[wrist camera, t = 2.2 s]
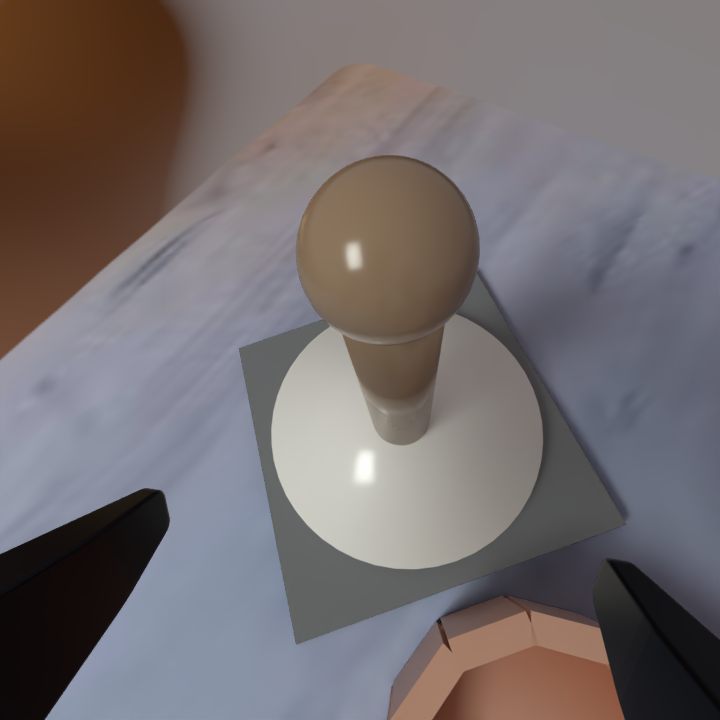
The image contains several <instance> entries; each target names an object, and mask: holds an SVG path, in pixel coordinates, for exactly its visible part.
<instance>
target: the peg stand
mask: <svg viewBox="0 0 720 720" xmlns="http://www.w3.org/2000/svg"><path fill="white" fill-rule="evenodd" d="M479 257H480V243H479V233H478V228H477V224H476V220H475V217H474V214H473V211H472V209H471V207H470V205H469V204H468V202H467V200H466V198H465V196H464V195H463V193H462V192H461V191H460V190H459V188H458V187H457V186H456V185H455V184H454V182H453V181H452V180H450V179H449V178H448V177H447V176H446V175H445V174H443V173H442V172H440V171H439V170H438V169H436V168H435V167H433V166H431V165H429V164H427V163H425V162H422V161H420V160H417V159H413V158H410V157H405V156H398V155H382V156H374V157H369V158H365V159H362V160H359V161H356V162H354V163H352V164H350V165H348V166H346V167H344V168H343V169H341V170H340V171H338V172H337V173H335V174H334V175H333V176H331V177H330V178H329V179H328V180H327V181H326V182H325V183H324V184H323V185H322V186H321V187H320V188H319V190H318V191H317V192H316V193H315V195H314V196H313V197H312V199H311V201H310V202H309V204H308V206H307V208H306V210H305V212H304V214H303V217H302V220H301V223H300V227H299V230H298V234H297V242H296V263H297V270H298V275H299V279H300V282H301V285H302V288H303V290H304V292H305V295H306V296H307V298H308V300H309V302H310V303H311V305H312V307H313V308H314V310H315V311H316V312H317V313H318V314H319V315H320V317H321V318H322V319H323V320H324V321H325V322H326V323H327V324H329V325H330V327H329V328H328V329H326V330H325V331H323V332H322V333H320V334H319V335H318V336H317V337H316V338H315V339H314V340H313V341H311V342H310V343H309V344H308V345H307V346H306V348H305V349H304V350H303V351H302V352H301V353H300V354H299V356H298V357H297V358H296V360H295V361H294V363H293V364H292V366H291V367H290V369H289V371H288V373H287V374H286V376H285V378H284V380H283V382H282V385H281V387H280V390H279V393H278V395H277V399H276V403H275V407H274V411H273V418H272V427H271V437H272V451H273V458H274V463H275V467H276V470H277V474H278V478H279V480H280V482H281V485H282V487H283V489H284V492H285V494H286V496H287V497H288V499H289V501H290V502H291V504H292V506H293V507H294V509H295V511H296V512H297V513H298V514H299V516H300V517H301V518H302V519H303V521H304V522H305V523H306V524H307V525H308V526H309V527H310V528H311V529H312V530H313V531H314V532H315V533H316V534H317V535H318V536H319V537H320V538H322V539H323V540H324V541H326V542H327V543H329V544H330V545H332V546H333V547H335V548H336V549H337V550H339V551H341V552H343V553H345V554H347V555H349V556H351V557H353V558H355V559H358V560H361V561H364V562H367V563H370V564H373V565H377V566H383V567H388V568H394V569H422V568H431V567H437V566H441V565H445V564H448V563H452V562H455V561H458V560H460V559H462V558H465V557H467V556H469V555H471V554H474V553H476V552H477V551H479V550H480V549H482V548H483V547H485V546H486V545H488V544H489V543H491V542H492V541H494V540H495V539H496V538H497V537H498V536H499V535H500V534H501V533H503V532H504V531H505V530H506V529H507V528H508V527H509V526H510V524H511V523H512V522H513V521H514V519H515V518H516V517H517V516H518V515H519V513H520V512H521V510H522V509H523V507H524V505H525V503H526V502H527V500H528V498H529V497H530V495H531V492H532V490H533V487H534V485H535V482H536V480H537V477H538V472H539V468H540V464H541V460H542V449H543V429H542V419H541V414H540V409H539V405H538V402H537V399H536V396H535V393H534V390H533V388H532V386H531V384H530V382H529V380H528V378H527V375H526V373H525V372H524V370H523V369H522V367H521V366H520V364H519V363H518V361H517V360H516V359H515V357H514V356H513V355H512V354H511V353H510V352H509V350H508V349H507V348H506V347H505V346H504V345H503V344H502V343H501V342H500V341H499V340H497V339H496V338H495V337H494V336H493V335H492V334H490V333H489V332H487V331H486V330H485V329H483V328H482V327H480V326H479V325H477V324H475V323H473V322H472V321H470V320H468V319H466V318H464V317H462V316H459V315H457V314H456V312H457V311H458V310H459V309H460V307H461V306H462V304H463V303H464V301H465V300H466V298H467V296H468V294H469V293H470V291H471V288H472V285H473V283H474V280H475V277H476V274H477V269H478V264H479Z"/></svg>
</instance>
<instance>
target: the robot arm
mask: <svg viewBox="0 0 720 720" xmlns="http://www.w3.org/2000/svg"><path fill="white" fill-rule="evenodd" d="M169 523H170V517H169V512H168V508H167V503H166V498H165V495H164V493H163V492H162V491H160V490H156V489H149V488H144V489H141V490H139V491H137V492H134V493H132V494H130V495H128V496H126V497H123V498H121V499H119V500H117V501H115V502H113V503H110V504H108V505H106V506H104V507H102V508H100V509H97V510H95V511H93V512H91V513H89V514H87V515H84V516H82V517H80V518H78V519H76V520H74V521H71V522H69V523H67V524H65V525H63V526H61V527H58V528H56V529H54V530H52V531H50V532H48V533H45V534H43V535H41V536H39V537H37V538H34V539H32V540H30V541H28V542H26V543H24V544H21V545H19V546H17V547H15V548H13V549H11V550H8V551H6V552H4V553H2V554H0V720H45V719H46V717H47V716H48V714H49V713H50V711H51V710H52V708H53V707H54V705H55V704H56V703H57V701H58V700H59V698H60V697H61V695H62V694H63V692H64V691H65V690H66V688H67V687H68V685H69V684H70V682H71V681H72V679H73V678H74V676H75V675H76V674H77V672H78V671H79V669H80V668H81V666H82V665H83V663H84V662H85V661H86V659H87V658H88V656H89V655H90V653H91V652H92V650H93V649H94V647H95V646H96V645H97V643H98V642H99V640H100V639H101V637H102V636H103V634H104V633H105V631H106V630H107V629H108V627H109V626H110V624H111V623H112V621H113V620H114V618H115V617H116V616H117V614H118V613H119V611H120V610H121V608H122V607H123V605H124V604H125V602H126V601H127V599H128V597H129V596H130V594H131V592H132V591H133V589H134V587H135V586H136V584H137V582H138V580H139V579H140V577H141V575H142V574H143V572H144V570H145V568H146V567H147V565H148V563H149V561H150V560H151V558H152V556H153V554H154V553H155V551H156V549H157V547H158V546H159V544H160V542H161V540H162V539H163V537H164V535H165V533H166V532H167V530H168V527H169ZM593 602H594V607H595V611H596V615H597V619H598V623H599V626H600V630H601V634H602V638H603V642H604V646H605V650H606V654H607V658H608V662H609V666H610V670H611V674H612V677H613V681H614V685H615V689H616V693H617V696H618V700H619V703H620V706H621V710H622V713H623V716H624V719H625V720H720V640H719V639H718V638H717V637H716V636H715V635H714V634H713V633H711V632H710V631H709V630H708V629H707V628H706V627H705V626H703V625H702V624H701V623H700V622H699V621H698V620H697V619H695V618H694V617H693V616H692V615H691V614H690V613H689V612H688V611H686V610H685V609H684V608H683V607H682V606H681V605H680V604H678V603H677V602H676V601H675V600H674V599H673V598H672V597H670V596H669V595H668V594H667V593H666V592H665V591H664V590H662V589H661V588H660V587H659V586H658V585H657V584H656V583H654V582H653V581H652V580H651V579H650V578H649V577H648V576H646V575H645V574H644V573H643V572H642V571H641V570H640V569H639V568H637V567H636V566H635V565H634V564H632V563H630V562H628V561H622V560H615V559H605V560H604V561H603V562H602V564H601V567H600V570H599V573H598V576H597V580H596V583H595V586H594V589H593Z"/></svg>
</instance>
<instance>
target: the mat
mask: <svg viewBox="0 0 720 720" xmlns="http://www.w3.org/2000/svg"><path fill="white" fill-rule="evenodd" d="M456 314H457V315H459V316H462V317H464V318H466V319H468V320H470V321H472V322H473V323H475V324H477V325H479V326H480V327H482V328H483V329H485V330H486V331H487V332H489V333H490V334H492V335H493V336H494V337H495V338H496V339H497V340H499V341H500V342H501V343H502V344H503V345H504V346H505V347H506V348H507V349H508V350H509V352H510V353H511V354H512V355H513V356H514V357H515V359H516V360H517V361H518V363H519V364H520V366H521V367H522V369H523V370H524V372H525V373H526V375H527V378H528V380H529V382H530V384H531V386H532V388H533V390H534V393H535V396H536V399H537V402H538V405H539V409H540V414H541V419H542V429H543V449H542V460H541V464H540V468H539V472H538V477H537V480H536V482H535V485H534V487H533V490H532V492H531V495H530V497H529V498H528V500H527V502H526V503H525V505H524V507H523V509H522V510H521V512H520V513H519V515H518V516H517V517H516V518H515V519H514V521H513V522H512V523H511V524H510V526H509V527H508V528H507V529H506V530H505V531H504V532H503V533H501V534H500V535H499V536H498V537H497V538H496V539H495V540H494V541H492V542H491V543H489V544H488V545H486V546H485V547H483V548H482V549H480V550H479V551H477V552H476V553H474V554H471V555H469V556H467V557H465V558H462V559H460V560H458V561H455V562H452V563H448V564H445V565H441V566H437V567H431V568H422V569H394V568H388V567H383V566H377V565H373V564H370V563H367V562H364V561H361V560H358V559H355V558H353V557H351V556H349V555H347V554H345V553H343V552H341V551H339V550H337V549H336V548H335V547H333V546H332V545H330V544H329V543H327V542H326V541H324V540H323V539H322V538H320V537H319V536H318V535H317V534H316V533H315V532H314V531H313V530H312V529H311V528H310V527H309V526H308V525H307V524H306V523H305V522H304V521H303V519H302V518H301V517H300V516H299V514H298V513H297V512H296V511H295V509H294V507H293V506H292V504H291V502H290V501H289V499H288V497H287V496H286V494H285V492H284V489H283V487H282V485H281V482H280V480H279V478H278V474H277V470H276V467H275V463H274V458H273V451H272V437H271V427H272V418H273V411H274V407H275V403H276V399H277V395H278V393H279V390H280V387H281V385H282V382H283V380H284V378H285V376H286V374H287V373H288V371H289V369H290V367H291V366H292V364H293V363H294V361H295V360H296V358H297V357H298V356H299V354H300V353H301V352H302V351H303V350H304V349H305V348H306V346H307V345H308V344H309V343H310V342H311V341H313V340H314V339H315V338H316V337H317V336H318V335H319V334H320V333H322V332H323V331H325V330H326V329H328V328H329V327H330V325H329V324H327V323H326V322H325V321H324V320H321V321H318V322H315V323H312V324H309V325H306V326H303V327H300V328H297V329H294V330H291V331H288V332H285V333H282V334H280V335H277V336H274V337H271V338H268V339H265V340H262V341H259V342H256V343H253V344H250V345H247V346H244V347H242V348H239V352H240V357H241V362H242V367H243V372H244V377H245V383H246V388H247V393H248V398H249V403H250V409H251V414H252V419H253V424H254V429H255V434H256V440H257V445H258V450H259V455H260V460H261V466H262V471H263V476H264V481H265V486H266V491H267V497H268V502H269V507H270V512H271V517H272V522H273V528H274V533H275V538H276V543H277V548H278V554H279V559H280V564H281V569H282V574H283V579H284V585H285V590H286V595H287V600H288V605H289V611H290V616H291V621H292V626H293V631H294V636H295V642H296V644H299V643H302V642H305V641H307V640H310V639H313V638H315V637H318V636H321V635H324V634H326V633H329V632H332V631H335V630H337V629H340V628H343V627H346V626H348V625H351V624H354V623H357V622H359V621H362V620H365V619H368V618H370V617H373V616H376V615H379V614H381V613H384V612H387V611H390V610H392V609H395V608H398V607H401V606H403V605H406V604H409V603H412V602H414V601H417V600H420V599H423V598H425V597H428V596H431V595H434V594H436V593H439V592H442V591H445V590H447V589H450V588H453V587H456V586H458V585H461V584H464V583H467V582H469V581H472V580H475V579H478V578H480V577H483V576H486V575H489V574H491V573H494V572H497V571H500V570H502V569H505V568H508V567H511V566H513V565H516V564H519V563H522V562H524V561H527V560H530V559H533V558H535V557H538V556H541V555H544V554H546V553H549V552H552V551H555V550H557V549H560V548H563V547H566V546H568V545H571V544H574V543H577V542H579V541H582V540H585V539H588V538H590V537H593V536H596V535H599V534H601V533H604V532H607V531H610V530H612V529H615V528H618V527H621V526H623V525H626V523H625V521H624V519H623V518H622V516H621V514H620V513H619V511H618V509H617V508H616V506H615V504H614V503H613V501H612V499H611V497H610V496H609V494H608V492H607V491H606V489H605V487H604V486H603V484H602V482H601V481H600V479H599V477H598V476H597V474H596V472H595V471H594V469H593V467H592V466H591V464H590V462H589V461H588V459H587V457H586V455H585V454H584V452H583V450H582V449H581V447H580V445H579V444H578V442H577V440H576V439H575V437H574V435H573V434H572V432H571V430H570V429H569V427H568V425H567V424H566V422H565V420H564V418H563V417H562V415H561V413H560V412H559V410H558V408H557V407H556V405H555V403H554V402H553V400H552V398H551V397H550V395H549V393H548V392H547V390H546V388H545V387H544V385H543V383H542V382H541V380H540V378H539V376H538V375H537V373H536V371H535V370H534V368H533V366H532V365H531V363H530V361H529V360H528V358H527V356H526V355H525V353H524V351H523V350H522V348H521V346H520V345H519V343H518V341H517V339H516V338H515V336H514V334H513V333H512V331H511V329H510V328H509V326H508V324H507V323H506V321H505V319H504V318H503V316H502V314H501V313H500V311H499V309H498V308H497V306H496V304H495V303H494V301H493V299H492V297H491V296H490V294H489V292H488V291H487V289H486V287H485V286H484V284H483V282H482V281H481V279H480V277H479V276H478V274H476V277H475V280H474V283H473V285H472V288H471V291H470V293H469V294H468V296H467V298H466V300H465V301H464V303H463V304H462V306H461V307H460V309H459V310H458V311H457V312H456Z"/></svg>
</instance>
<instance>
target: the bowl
mask: <svg viewBox="0 0 720 720" xmlns="http://www.w3.org/2000/svg"><path fill="white" fill-rule="evenodd" d="M440 619H441V622H442V623H441V624H439V623H438V622H437V621H436V622H435V623H434V625H433V626H432V628H431V629H430V630H429V632H428V633H427V635H426V636H425V637H424V639H423V640H422V642H421V643H420V645H419V646H418V647H417V649H416V650H415V652H414V653H413V654H412V656H411V657H410V659H409V660H408V662H407V663H406V664H405V666H404V667H403V669H402V670H401V671H400V673H399V674H398V676H397V677H396V679H395V680H394V684H393V686H392V689H391V696H390V703H389V710H388V717H387V720H625V719H624V716H623V713H622V710H621V706H620V703H619V700H618V696H617V693H616V689H615V685H614V681H613V677H612V674H611V670H610V666H609V662H608V658H607V654H606V650H605V646H604V642H603V638H602V634H601V630H600V626H599V623H598V622H596V621H593V620H591V619H589V618H587V617H585V616H583V615H580V614H578V613H575V612H571V611H567V610H563V609H559V608H555V607H551V606H547V605H543V604H539V603H535V602H532V601H528V600H524V599H520V598H516V597H512V596H508V595H506V598H505V597H503V596H502V595H501V596H498V597H496V598H493V599H490V600H487V601H485V602H482V603H479V604H476V605H474V606H471V607H468V608H465V609H463V610H460V611H457V612H455V613H452V614H449V615H446V616H444V617H441V618H440Z"/></svg>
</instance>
